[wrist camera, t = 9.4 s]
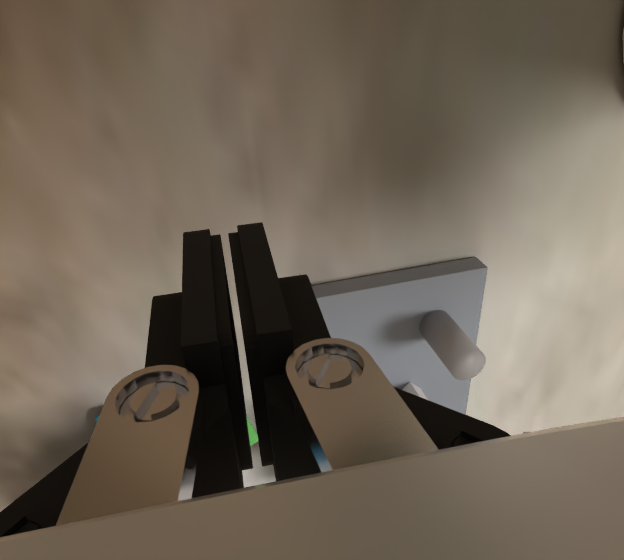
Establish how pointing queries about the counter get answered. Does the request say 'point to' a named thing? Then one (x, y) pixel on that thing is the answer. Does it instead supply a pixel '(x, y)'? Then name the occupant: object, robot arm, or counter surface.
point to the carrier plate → (414, 325)
